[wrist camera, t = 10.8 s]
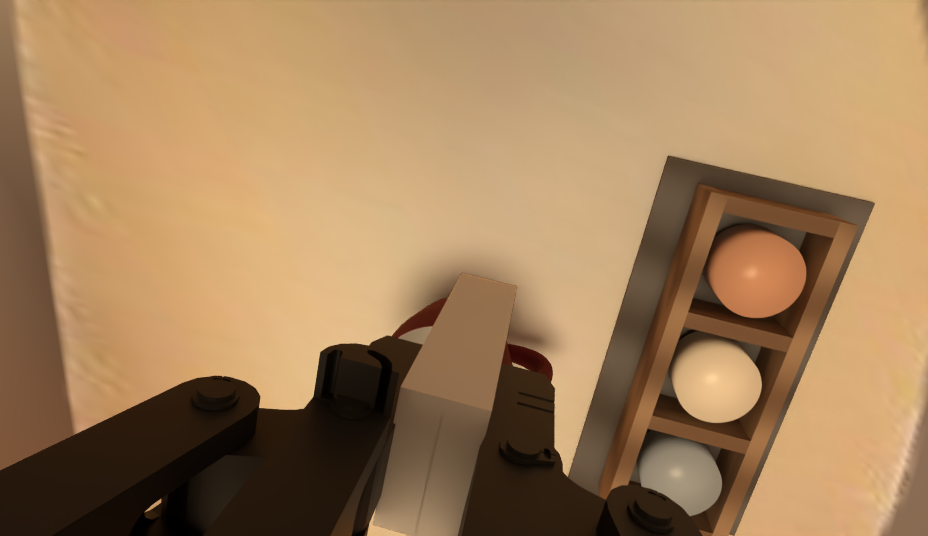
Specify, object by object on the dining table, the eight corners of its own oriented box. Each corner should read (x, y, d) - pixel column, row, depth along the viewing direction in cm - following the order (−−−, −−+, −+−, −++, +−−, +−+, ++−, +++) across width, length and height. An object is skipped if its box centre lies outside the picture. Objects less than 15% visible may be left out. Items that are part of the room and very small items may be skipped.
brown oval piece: (717, 215, 39) (730, 225, 36) (799, 234, 39) (819, 246, 36) (691, 290, 41) (702, 306, 37) (769, 309, 40) (787, 327, 37)
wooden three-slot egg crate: (668, 156, 39) (679, 162, 36) (872, 202, 38) (907, 214, 35) (565, 486, 47) (565, 521, 43) (733, 533, 46) (749, 572, 42)
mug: (558, 282, 43) (559, 335, 33) (549, 385, 45) (547, 463, 35) (411, 269, 44) (372, 317, 35) (409, 371, 46) (372, 442, 37)
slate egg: (647, 416, 43) (654, 440, 40) (720, 435, 43) (733, 461, 40) (626, 477, 45) (632, 504, 42) (697, 495, 45) (707, 525, 42)
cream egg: (680, 321, 41) (690, 339, 38) (757, 340, 41) (774, 360, 38) (657, 388, 43) (665, 411, 40) (731, 407, 42) (745, 431, 39)
